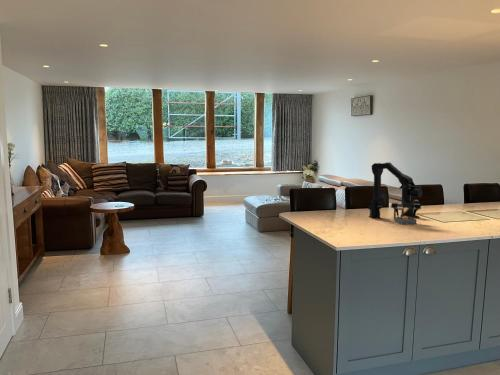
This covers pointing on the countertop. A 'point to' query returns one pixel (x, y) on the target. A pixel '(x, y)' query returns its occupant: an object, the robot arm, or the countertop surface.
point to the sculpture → (411, 210)
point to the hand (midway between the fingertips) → (405, 218)
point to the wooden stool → (399, 209)
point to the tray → (409, 221)
